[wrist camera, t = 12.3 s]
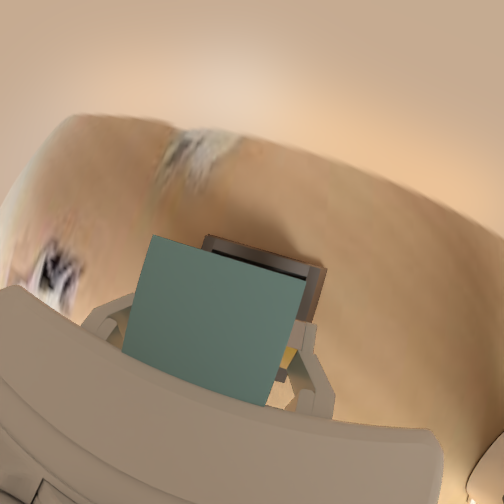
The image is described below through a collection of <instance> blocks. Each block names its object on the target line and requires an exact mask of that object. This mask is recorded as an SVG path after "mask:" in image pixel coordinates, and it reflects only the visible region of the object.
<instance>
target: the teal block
mask: <svg viewBox="0 0 504 504" xmlns="http://www.w3.org/2000/svg"><path fill="white" fill-rule="evenodd" d="M306 282H307V281H304V280H300V279H297V278H293V277H290V276H287V275H283V274H280V273H277V272H273V271H270V270H267V269H263V268H260V267H257V266H253V265H250V264H247V263H243V262H240V261H237V260H233V259H230V258H227V257H224V256H220V255H217V254H214V253H211V252H207V251H204V250H201V249H198V248H195V247H191V246H188V245H185V244H182V243H178V242H175V241H172V240H169V239H166V238H163V237H159V236H156V235H153V236H152V239H151V242H150V245H149V248H148V251H147V255H146V258H145V261H144V264H143V268H142V271H141V274H140V278H139V281H138V285H137V288H136V292H135V296H134V300H133V303H132V307H131V311H130V315H129V319H128V323H127V328H126V332H125V337H124V341H123V346H122V350H121V352H122V353H124V354H126V355H128V356H130V357H132V358H134V359H136V360H138V361H141V362H143V363H145V364H147V365H149V366H151V367H153V368H156V369H158V370H160V371H162V372H165V373H167V374H169V375H172V376H174V377H177V378H179V379H182V380H184V381H187V382H189V383H192V384H194V385H197V386H200V387H202V388H205V389H208V390H211V391H213V392H216V393H219V394H222V395H225V396H228V397H231V398H234V399H238V400H241V401H244V402H247V403H251V404H254V405H258V406H261V407H265V404H266V401H267V399H268V396H269V393H270V391H271V388H272V385H273V383H274V380H275V377H276V374H277V372H278V369H279V366H280V363H281V360H282V357H283V354H284V352H285V349H286V346H287V343H288V340H289V337H290V334H291V331H292V328H293V324H294V321H295V318H296V315H297V312H298V309H299V305H300V302H301V299H302V296H303V292H304V289H305V286H306Z"/></svg>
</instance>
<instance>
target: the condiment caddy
mask: <svg viewBox="0 0 504 504" xmlns="http://www.w3.org/2000/svg"><path fill="white" fill-rule="evenodd" d="M201 250H204V251H207V252H211V253H214V254H217V255H220V256H224V257H227V258H230V259H233V260H237V261H240V262H243V263H247V264H250V265H253V266H257V267H260V268H263V269H267V270H270V271H273V272H277V273H280V274H283V275H287V276H290V277H293V278H297V279H300V280H304V281H307V282H306V286H305V289H304V292H303V296H302V299H301V302H300V305H299V309H298V312H297V315H296V318H295V319H299V320H302V321H306V322H309V323H312V320H313V317H314V314H315V310H316V307H317V304H318V301H319V297H320V294H321V290H322V287H323V283H324V280H325V276H326V273H327V269H326V268H323V267H319V266H316V265H313V264H309V263H306V262H302V261H299V260H296V259H292V258H289V257H285V256H282V255H279V254H275V253H272V252H268V251H265V250H261V249H258V248H255V247H251V246H248V245H244V244H241V243H237V242H234V241H231V240H227V239H224V238H220V237H217V236H213V235H210V234H208V236H207V235H206V236H205V239H204V242H203V245H202V248H201ZM287 375H288V373H287V369H285V368H281V367H279V369H278V372H277V374H276V377H275V381H279V382H283V383H284V382H285V379H286V377H287Z"/></svg>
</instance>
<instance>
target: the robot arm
mask: <svg viewBox="0 0 504 504" xmlns="http://www.w3.org/2000/svg"><path fill="white" fill-rule="evenodd" d="M134 296H135V294H134V293H130V294H128V295H126V296H123V297H121V298H118V299H116V300H114V301H111V302H109V303H106V304H104V305H102V306H99V307H97V308H94V309H93V310H92V312H91V313H90V314H89V315H88V317H87V318H86V319H85V321H84V322H83V323H82V324H81V326H79V325H77V324H76V323H74V322H72V321H71V320H69V319H68V318H66V317H64V316H63V315H61V314H60V313H58V312H57V311H55V310H54V309H52V308H51V307H49V306H48V305H46V304H45V303H44V302H42V301H41V300H39V299H38V298H37V297H35V296H34V295H32V294H31V293H30V292H28V291H27V290H26V289H24V288H23V287H22V286H20V285H12V286H9V287H6V288H4V289H1V290H0V504H437V503H438V499H439V494H440V489H441V483H442V477H443V468H444V451H443V449H442V447H441V445H440V443H439V441H438V440H437V438H436V436H435V435H434V433H433V432H432V431H431V430H430V429H425V428H400V427H386V426H376V425H366V424H358V423H351V422H344V421H337V420H332V417H333V410H334V403H335V393H334V391H333V389H332V387H331V385H330V383H329V381H328V378H327V376H326V374H325V372H324V370H323V368H322V366H321V364H320V362H319V360H318V358H317V356H316V355H315V354H313V351H314V345H315V338H316V331H317V325H316V324H313V323H309V322H306V321H302V320H299V319H295V321H294V324H293V328H292V331H291V334H290V337H289V340H288V343H287V346H286V349H285V352H284V354H283V357H282V360H281V363H280V366H279V367H281V368H285V369H287V373H288V376H289V379H290V382H291V385H292V388H293V391H294V394H295V397H294V398H293V400H292V401H291V402H290V403H289V404H288V405H287V406H286V407H285V410H283V409H279V408H275V407H271V406H268V405H265V407H261V406H258V405H254V404H251V403H247V402H244V401H241V400H238V399H234V398H231V397H228V396H225V395H222V394H219V393H216V392H213V391H211V390H208V389H205V388H202V387H200V386H197V385H194V384H192V383H189V382H187V381H184V380H182V379H179V378H177V377H174V376H172V375H169V374H167V373H165V372H162V371H160V370H158V369H156V368H153V367H151V366H149V365H147V364H145V363H143V362H141V361H138V360H136V359H134V358H132V357H130V356H128V355H126V354H124V353H122V352H121V350H122V346H123V341H124V337H125V332H126V328H127V323H128V319H129V315H130V311H131V307H132V303H133V300H134ZM466 490H467V493H468V494H469V498H468V501H467V502H468V503H469V504H474V503H477V504H504V432H503V433H502V434H501V435H500V436H499V437H498V438H497V440H496V441H495V442H494V443H493V444H492V445H491V447H490V448H489V449H488V450H487V452H486V453H485V454H484V456H483V457H482V458H481V460H480V461H479V463H478V464H477V466H476V467H475V469H474V471H473V472H472V474H471V476H470V478H469V481H468V483H467V488H466Z"/></svg>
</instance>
